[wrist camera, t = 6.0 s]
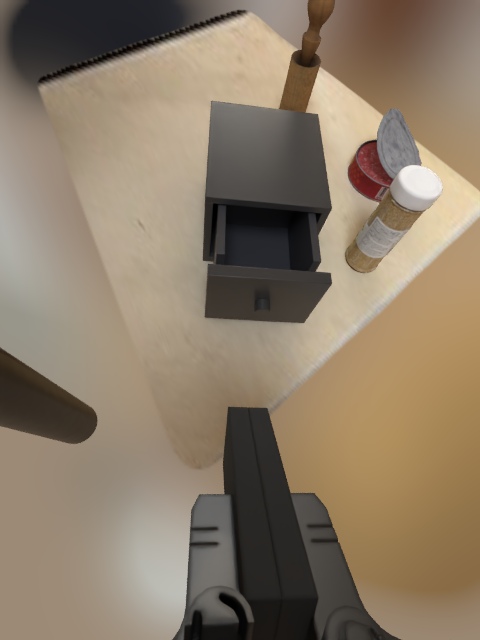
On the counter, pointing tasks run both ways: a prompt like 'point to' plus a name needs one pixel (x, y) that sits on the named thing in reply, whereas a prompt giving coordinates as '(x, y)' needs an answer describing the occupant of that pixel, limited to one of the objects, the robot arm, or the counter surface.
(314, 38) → the mortar and pestle
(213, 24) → the counter surface
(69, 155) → the counter surface
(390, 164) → the canned food
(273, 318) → the pull-out drawer box
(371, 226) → the sprinkles bottle
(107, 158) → the counter surface
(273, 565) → the robot arm
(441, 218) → the counter surface
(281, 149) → the small drawer cabinet
